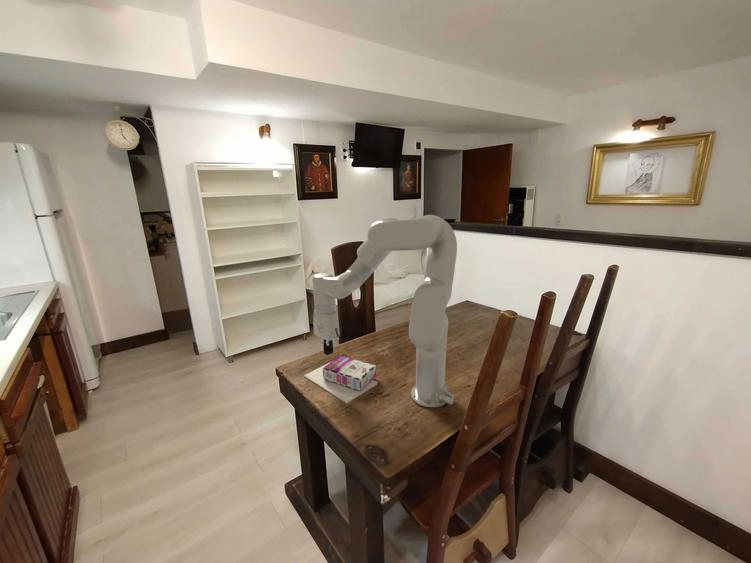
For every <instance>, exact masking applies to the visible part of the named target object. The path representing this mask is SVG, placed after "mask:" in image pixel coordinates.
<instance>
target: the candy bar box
mask: <svg viewBox="0 0 751 563" xmlns="http://www.w3.org/2000/svg"><path fill="white" fill-rule="evenodd" d="M330 362H331V363H330ZM330 362H328V363H329V364H328V363H327V364H328V365H326V364H325V365H326V366H325V367H324V368H323V379H325V380H328V381H331V382H334V383H337V384H340V385H343V386H346V387H349V388H352V389H355V390H358V391H361V390H362V389H363V388H365V387H366V386H367V385H368V384H369V383H370V382H371V381H372V380H374V379H375V378H376V377H377V365H375V364H372V363H368V362H365V361H361V360H357V359H354V358H350V357H346V356H343V355H339V356H338V357H336V358H335V359H333V360H332V361H330Z"/></svg>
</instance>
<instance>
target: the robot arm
mask: <svg viewBox="0 0 751 563" xmlns="http://www.w3.org/2000/svg"><path fill="white" fill-rule="evenodd" d="M426 249H428V253H427V257H426V261H425V262H426V263H425V270H424V276H423V280H422V282H421V284H419V286H418V287H417V288H416V290H415V292H414V294H413V297H412V301H411V302H412V303H411V310H410V318H409V324H408V337H409V340H410V342H411V343H412V345H413V346H414V347H415V348H416V350H415V351H416V352H415V385H414V386H413V387H412V388H411V389H410V396H411V399H412V400H413V401H414V402H415V403H416V404H417V405H419V406H422V407H426V408H439V407H442V406H444V405H445V404H448V405H450V406H452V405H453V403H455V402H454V401H455V399H454V397H455V394H453V393H451V392H449V391H448V385H446V383H445V382H446V380H445V379H446V361H447V360H446V356H447V343H448V342H447V340H448V332H449V318H448V315H447V313H446V309H447V305H448V304H449V302H450V300H451V297H452V290H453V284H454V278H455V272H456V271H455V270H456V262H457V255H458V254H457V253H458V242H457V236H456V234H455V231H454V229H453V227H452V226H451V225H450V224H449V223H448V221H446V220H445V219H443V218H442V217H440V216H438V215H434V214H426V215H422V216H420V217H418V218H412V219H411V218H410V219H408V218H407V219H396V218H395V217H387V218H383V219H379V220H377V221H375V222H373V223H372V224H371V225H370V227H369V228H368V231H367V238H366V239H365V240H364V241H363V242H362V244H360V246H359V247H358V248H357V251H356V255H357V258H356V260H355V261H354V262H353V264H351V265H350V267H349V268H348V269H347V270H346V271H344V272H343V273H341V274H339V275H337V276H334V275H333V274H332V273H330V272H319V273H316V274H314V275H312V291H313V292H312V293H313V302H314V303H313V305H314V311H313V319H312V320H313V333H314V335H315V336H316V337H319V338H320V339H321V343H322V346H323V354H324V355H326V356H329V355H331V354H333V353H334V344H337V343H339V337H340V323H339V316H338V314H337V313H338V312H337V305H336V304H337V303H336V300H343V299H345V298H347V297H348V296H350V295H351V294H352V293H354V292H355V291H358V289H359V288H360V287H361V286H362V285H363V284H364V283H365V282H366V281H367V280H368V279H369V278H370V276H371V275H372V274H373V273H374V271H375V270H377V269H378V267H379V266H380V265H381V264H382V262H383V261H385V259H386V258H387V257H388V256H389V255H390V253H392V252H393V251H395V252H397V251H422V250H426Z"/></svg>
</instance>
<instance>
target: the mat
mask: <svg viewBox="0 0 751 563" xmlns="http://www.w3.org/2000/svg"><path fill="white" fill-rule="evenodd" d="M331 362H332V361H329V362H328V363H326V364H324V365H321V366H320V367H318V368H316V369H314V370H312V371H310V372H308V373H305V374H304V375H303V377H304V378H306V379H308V380H309V381H310V382H312V383H314V384H316V386H319V387H320V388H322V389H323V390H324V391H326V392H328V393H329V394H331V395H332V396H334V398H335V397H336V398H337V399H339V400H340V401H341V402H343V403H345V404H349V403H350V402H352V401H354V400H355V399H356V398H359V397H360V396H361V395H362V394H364V393H366V392H368V391H369V390H370V389H373V387H375V386H377V385H378V383H379V382H378V381H376V380H374V379H373V380H372V381H371V382H370V383H369V384H368V385H367V386H366V387H365V388H363V389H362V390H361V391H358V390H355V389H352V388H349V387H346V386H343V385H340V384H337V383H334V382H331V381H328V380H325V379H323V368H324V367H325V366H326V365H328V364H329V363H331Z"/></svg>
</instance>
